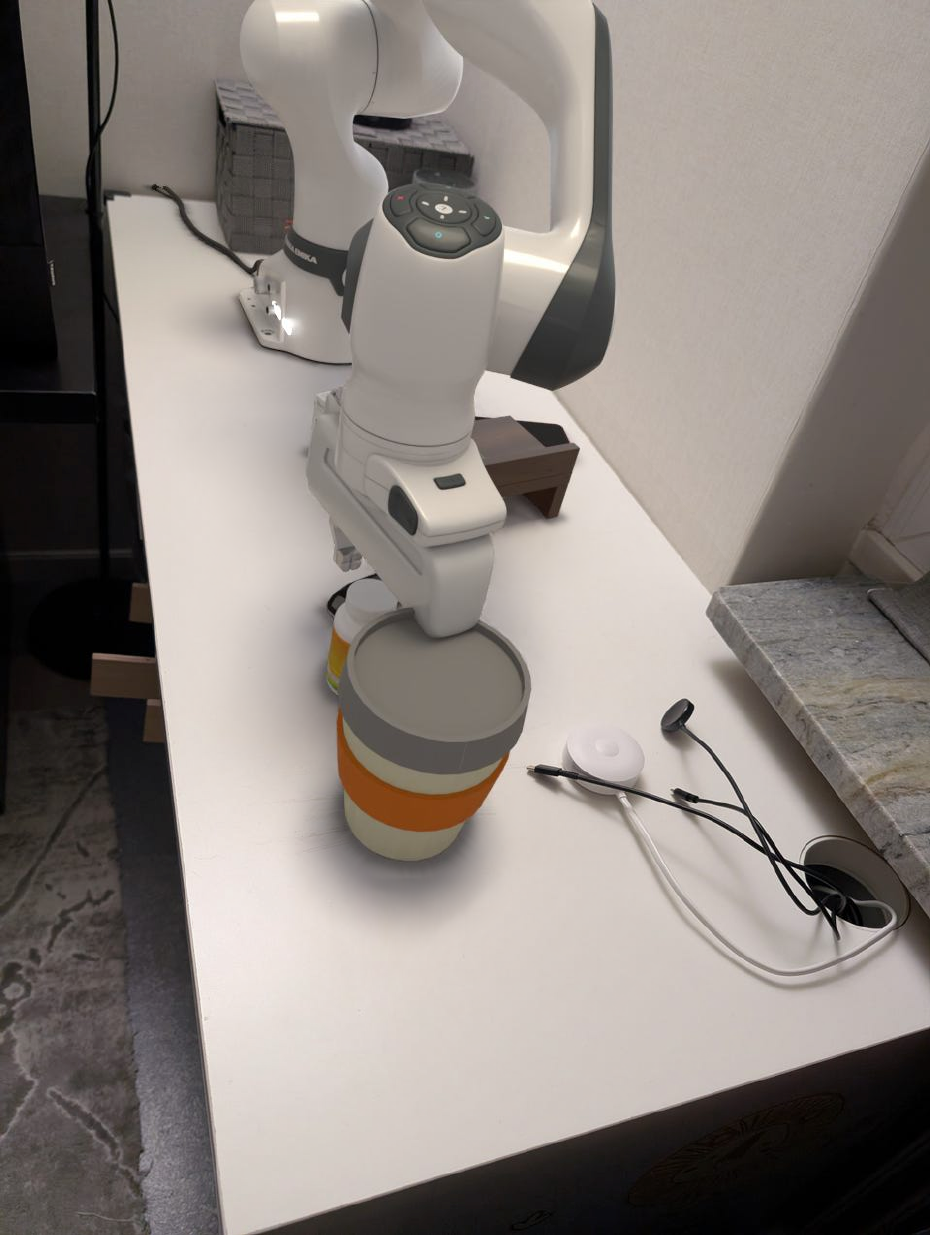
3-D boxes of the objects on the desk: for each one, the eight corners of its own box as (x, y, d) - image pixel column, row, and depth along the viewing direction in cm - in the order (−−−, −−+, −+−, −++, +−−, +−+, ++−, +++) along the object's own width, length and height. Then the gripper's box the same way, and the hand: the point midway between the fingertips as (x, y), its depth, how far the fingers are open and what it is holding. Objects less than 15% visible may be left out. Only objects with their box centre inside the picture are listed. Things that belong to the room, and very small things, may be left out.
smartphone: (577, 455, 110) (459, 445, 106) (575, 461, 111) (458, 452, 106) (561, 424, 115) (449, 413, 111) (559, 430, 116) (447, 419, 112)
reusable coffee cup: (399, 719, 74) (431, 580, 64) (518, 814, 69) (572, 679, 59) (283, 803, 65) (299, 658, 56) (409, 918, 61) (451, 781, 51)
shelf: (350, 486, 97) (361, 412, 91) (498, 459, 107) (516, 391, 102) (406, 551, 90) (421, 477, 85) (557, 516, 101) (580, 448, 95)
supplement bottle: (379, 712, 74) (397, 626, 67) (316, 693, 74) (328, 606, 68) (396, 668, 78) (414, 583, 72) (336, 651, 78) (349, 564, 72)
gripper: (292, 379, 65) (280, 532, 74) (440, 544, 54) (405, 701, 63) (368, 371, 68) (348, 518, 77) (523, 525, 57) (478, 676, 66)
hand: (374, 601), depth 70 cm, fingers open, 8 cm apart
